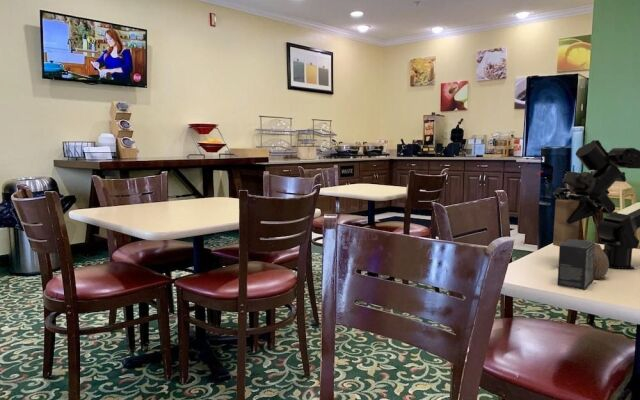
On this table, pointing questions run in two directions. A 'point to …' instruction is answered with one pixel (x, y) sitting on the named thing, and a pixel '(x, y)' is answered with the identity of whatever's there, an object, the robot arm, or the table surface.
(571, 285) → the small box
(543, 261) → the table surface
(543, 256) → the table surface
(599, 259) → the vase
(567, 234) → the walnut block
